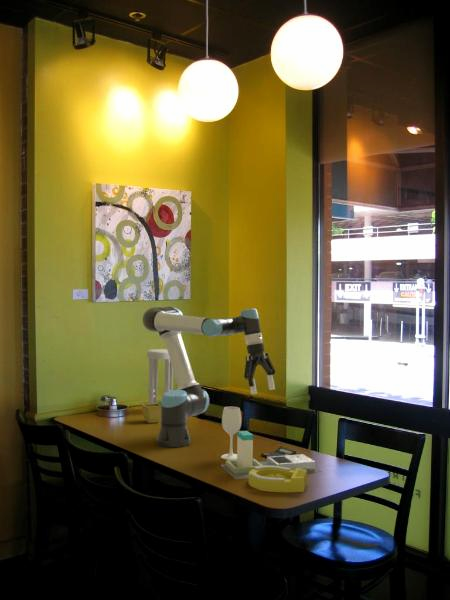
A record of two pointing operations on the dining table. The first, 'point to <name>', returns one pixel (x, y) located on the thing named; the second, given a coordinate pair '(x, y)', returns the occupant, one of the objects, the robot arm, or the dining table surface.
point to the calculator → (279, 452)
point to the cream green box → (244, 449)
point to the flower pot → (152, 412)
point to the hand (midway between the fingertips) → (263, 391)
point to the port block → (292, 462)
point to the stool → (153, 373)
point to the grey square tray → (233, 463)
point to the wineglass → (231, 427)
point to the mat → (246, 475)
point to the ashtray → (278, 479)
